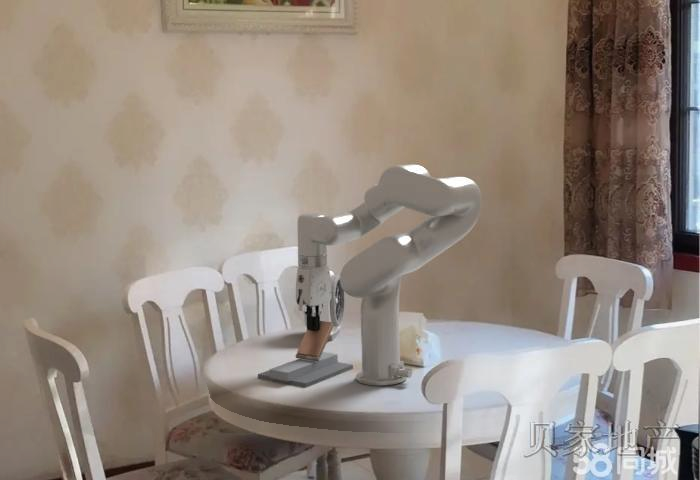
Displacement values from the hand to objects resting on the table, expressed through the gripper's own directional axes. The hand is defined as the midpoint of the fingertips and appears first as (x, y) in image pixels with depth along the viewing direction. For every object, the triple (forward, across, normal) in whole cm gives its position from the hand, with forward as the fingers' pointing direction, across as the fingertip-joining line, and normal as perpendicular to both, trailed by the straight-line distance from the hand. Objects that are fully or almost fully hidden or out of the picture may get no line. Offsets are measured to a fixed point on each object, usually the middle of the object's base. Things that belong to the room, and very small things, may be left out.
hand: (313, 329), depth 220 cm
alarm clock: (+11, +31, +18) cm, 38 cm away
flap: (+2, -1, -1) cm, 3 cm away
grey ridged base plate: (+10, -5, -1) cm, 12 cm away
